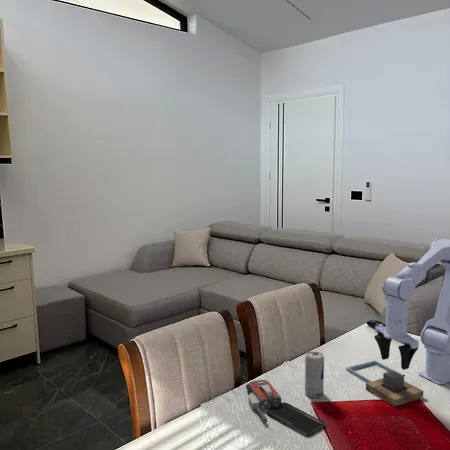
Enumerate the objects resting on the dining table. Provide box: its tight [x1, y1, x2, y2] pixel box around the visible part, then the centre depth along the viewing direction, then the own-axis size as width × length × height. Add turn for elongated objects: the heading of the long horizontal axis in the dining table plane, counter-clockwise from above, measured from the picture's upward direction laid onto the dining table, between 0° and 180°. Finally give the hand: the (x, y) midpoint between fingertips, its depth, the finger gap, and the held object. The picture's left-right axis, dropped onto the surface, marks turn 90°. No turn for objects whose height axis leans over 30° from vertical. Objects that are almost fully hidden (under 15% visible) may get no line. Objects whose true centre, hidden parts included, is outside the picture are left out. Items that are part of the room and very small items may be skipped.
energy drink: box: [304, 351, 325, 399], centre depth 133 cm, size 5×5×12 cm
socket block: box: [365, 377, 424, 407], centre depth 133 cm, size 11×11×2 cm
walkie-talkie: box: [245, 379, 282, 423], centre depth 128 cm, size 9×4×20 cm
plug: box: [382, 369, 405, 393], centre depth 133 cm, size 4×4×6 cm
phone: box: [265, 401, 326, 438], centre depth 120 cm, size 8×1×15 cm
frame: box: [345, 359, 404, 383], centre depth 146 cm, size 12×12×1 cm
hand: (394, 363), depth 132 cm, fingers open, 7 cm apart
